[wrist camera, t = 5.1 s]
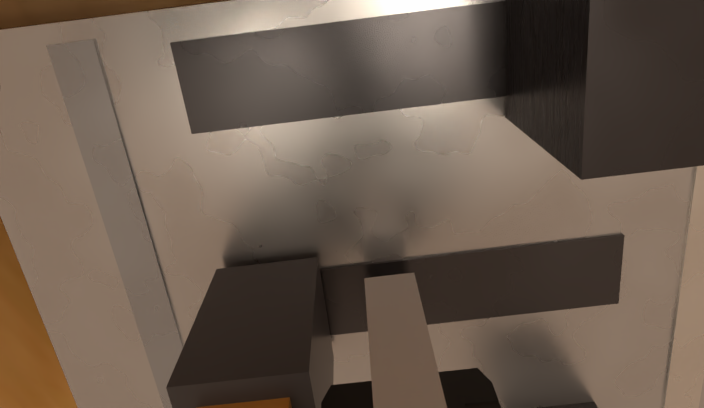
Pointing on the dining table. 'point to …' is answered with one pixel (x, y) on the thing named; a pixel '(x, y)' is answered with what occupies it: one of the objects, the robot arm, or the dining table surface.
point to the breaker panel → (370, 183)
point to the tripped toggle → (257, 341)
